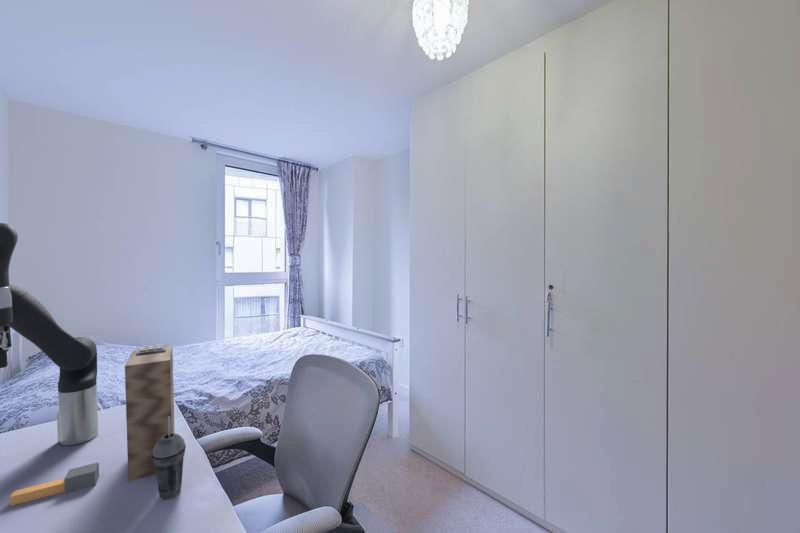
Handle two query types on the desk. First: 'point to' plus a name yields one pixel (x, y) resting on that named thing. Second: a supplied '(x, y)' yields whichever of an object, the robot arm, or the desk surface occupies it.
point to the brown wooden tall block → (148, 405)
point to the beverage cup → (169, 464)
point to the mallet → (59, 484)
